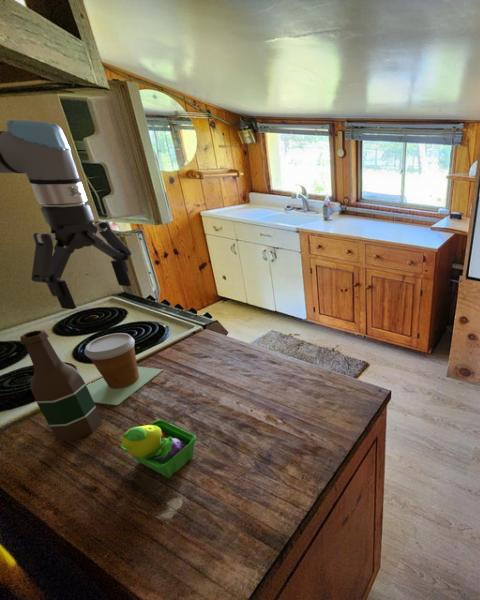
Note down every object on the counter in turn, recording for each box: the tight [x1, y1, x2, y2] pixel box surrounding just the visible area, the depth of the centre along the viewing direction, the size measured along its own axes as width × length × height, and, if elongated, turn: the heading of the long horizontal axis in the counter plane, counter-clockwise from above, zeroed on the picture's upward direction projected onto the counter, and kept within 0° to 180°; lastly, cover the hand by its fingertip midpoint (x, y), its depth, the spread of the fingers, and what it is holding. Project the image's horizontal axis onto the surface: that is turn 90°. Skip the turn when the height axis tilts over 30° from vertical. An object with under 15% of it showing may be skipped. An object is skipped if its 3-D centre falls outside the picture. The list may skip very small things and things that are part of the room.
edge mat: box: [86, 366, 164, 407], centre depth 84 cm, size 14×14×1 cm
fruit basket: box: [120, 419, 197, 479], centre depth 62 cm, size 11×9×11 cm
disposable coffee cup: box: [84, 332, 139, 389], centre depth 82 cm, size 10×10×12 cm
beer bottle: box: [19, 329, 103, 442], centre depth 65 cm, size 8×8×24 cm
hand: (99, 295), depth 77 cm, fingers open, 13 cm apart
